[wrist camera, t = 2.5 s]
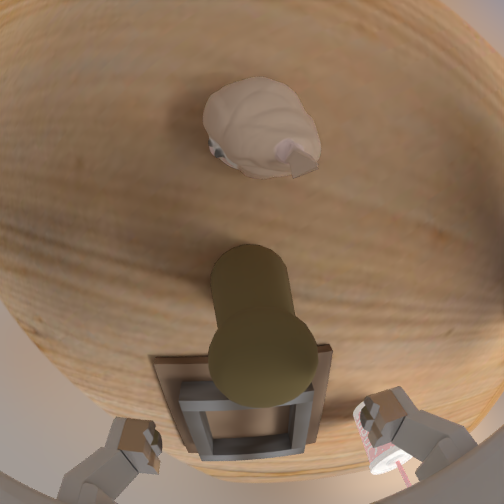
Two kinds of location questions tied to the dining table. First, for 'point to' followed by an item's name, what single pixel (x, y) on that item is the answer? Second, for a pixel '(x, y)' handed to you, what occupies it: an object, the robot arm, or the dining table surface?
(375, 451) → the beverage cup
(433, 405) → the dining table surface
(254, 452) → the socket base
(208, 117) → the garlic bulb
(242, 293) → the olive pawn peg
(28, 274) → the dining table surface
